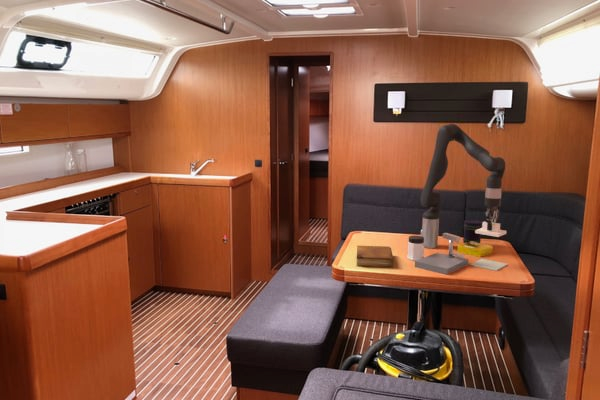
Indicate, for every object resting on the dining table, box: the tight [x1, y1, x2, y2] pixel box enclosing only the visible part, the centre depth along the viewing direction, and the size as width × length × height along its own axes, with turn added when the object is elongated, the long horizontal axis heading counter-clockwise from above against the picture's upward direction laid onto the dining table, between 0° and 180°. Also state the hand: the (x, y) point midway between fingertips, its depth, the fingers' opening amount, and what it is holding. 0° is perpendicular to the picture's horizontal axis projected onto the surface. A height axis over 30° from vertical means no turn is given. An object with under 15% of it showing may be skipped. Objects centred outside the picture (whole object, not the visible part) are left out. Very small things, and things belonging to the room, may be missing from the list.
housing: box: [414, 252, 470, 276], centre depth 250 cm, size 18×23×3 cm
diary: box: [356, 245, 395, 269], centre depth 259 cm, size 23×19×6 cm
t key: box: [442, 232, 465, 258], centre depth 253 cm, size 2×14×11 cm, turn 26°
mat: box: [469, 258, 508, 272], centre depth 251 cm, size 14×14×1 cm
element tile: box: [456, 241, 494, 258], centre depth 275 cm, size 15×15×5 cm
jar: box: [406, 235, 425, 262], centre depth 262 cm, size 9×8×12 cm
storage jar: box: [462, 219, 483, 243], centre depth 288 cm, size 10×10×15 cm
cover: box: [475, 221, 507, 238], centre depth 248 cm, size 12×10×6 cm
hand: (490, 229), depth 248 cm, fingers closed on cover, 3 cm apart
